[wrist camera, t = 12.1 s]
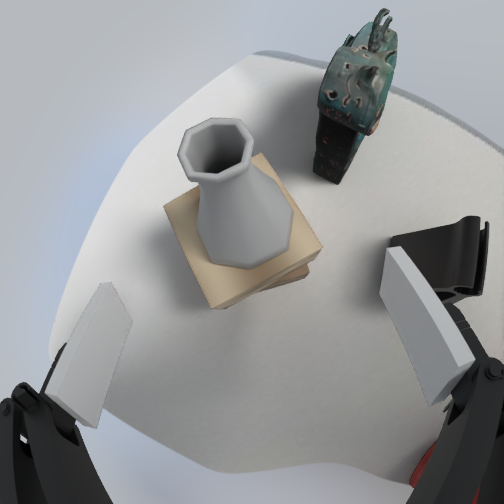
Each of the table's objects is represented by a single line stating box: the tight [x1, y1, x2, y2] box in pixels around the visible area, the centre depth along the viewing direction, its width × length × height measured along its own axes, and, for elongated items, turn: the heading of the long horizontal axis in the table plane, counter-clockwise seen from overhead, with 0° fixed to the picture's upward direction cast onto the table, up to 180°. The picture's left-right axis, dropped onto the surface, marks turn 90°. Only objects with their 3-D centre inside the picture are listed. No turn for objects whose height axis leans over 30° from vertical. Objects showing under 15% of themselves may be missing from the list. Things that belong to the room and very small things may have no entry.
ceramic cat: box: [313, 8, 398, 185], centre depth 22 cm, size 20×6×20 cm, turn 151°
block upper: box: [163, 152, 323, 309], centre depth 23 cm, size 9×9×5 cm
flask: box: [177, 118, 294, 270], centre depth 15 cm, size 7×7×10 cm
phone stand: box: [380, 216, 489, 304], centre depth 22 cm, size 9×6×12 cm, turn 69°
